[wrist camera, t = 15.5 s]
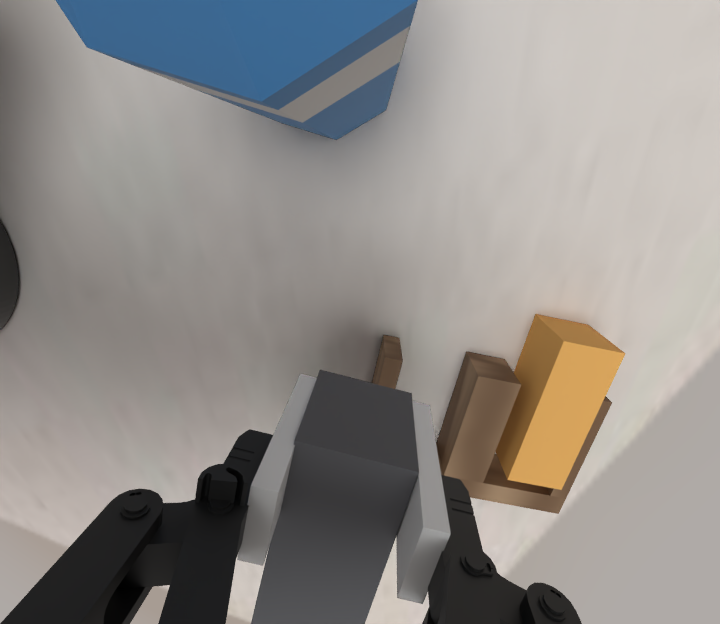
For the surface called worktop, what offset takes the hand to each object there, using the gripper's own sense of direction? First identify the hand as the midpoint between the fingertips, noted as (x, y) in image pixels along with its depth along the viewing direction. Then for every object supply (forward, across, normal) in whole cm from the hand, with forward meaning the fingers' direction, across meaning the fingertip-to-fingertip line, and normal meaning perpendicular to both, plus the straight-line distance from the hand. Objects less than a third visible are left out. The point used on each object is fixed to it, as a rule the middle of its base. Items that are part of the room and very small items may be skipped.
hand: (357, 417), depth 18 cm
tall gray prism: (+1, 0, -4) cm, 4 cm away
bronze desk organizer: (+14, +9, -6) cm, 18 cm away
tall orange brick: (+15, +14, -3) cm, 20 cm away
